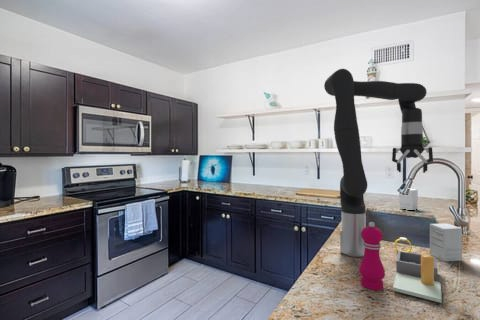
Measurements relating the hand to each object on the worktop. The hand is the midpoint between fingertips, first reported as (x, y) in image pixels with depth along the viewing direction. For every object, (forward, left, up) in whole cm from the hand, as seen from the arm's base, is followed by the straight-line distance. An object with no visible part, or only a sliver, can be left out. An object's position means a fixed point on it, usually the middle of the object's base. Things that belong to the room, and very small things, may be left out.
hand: (411, 172), depth 109 cm
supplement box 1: (-3, +92, -33) cm, 98 cm away
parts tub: (+1, -24, -33) cm, 41 cm away
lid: (+2, -37, -33) cm, 50 cm away
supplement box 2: (+11, -2, -33) cm, 35 cm away
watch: (-3, -4, -33) cm, 34 cm away
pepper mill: (-10, -41, -33) cm, 54 cm away
